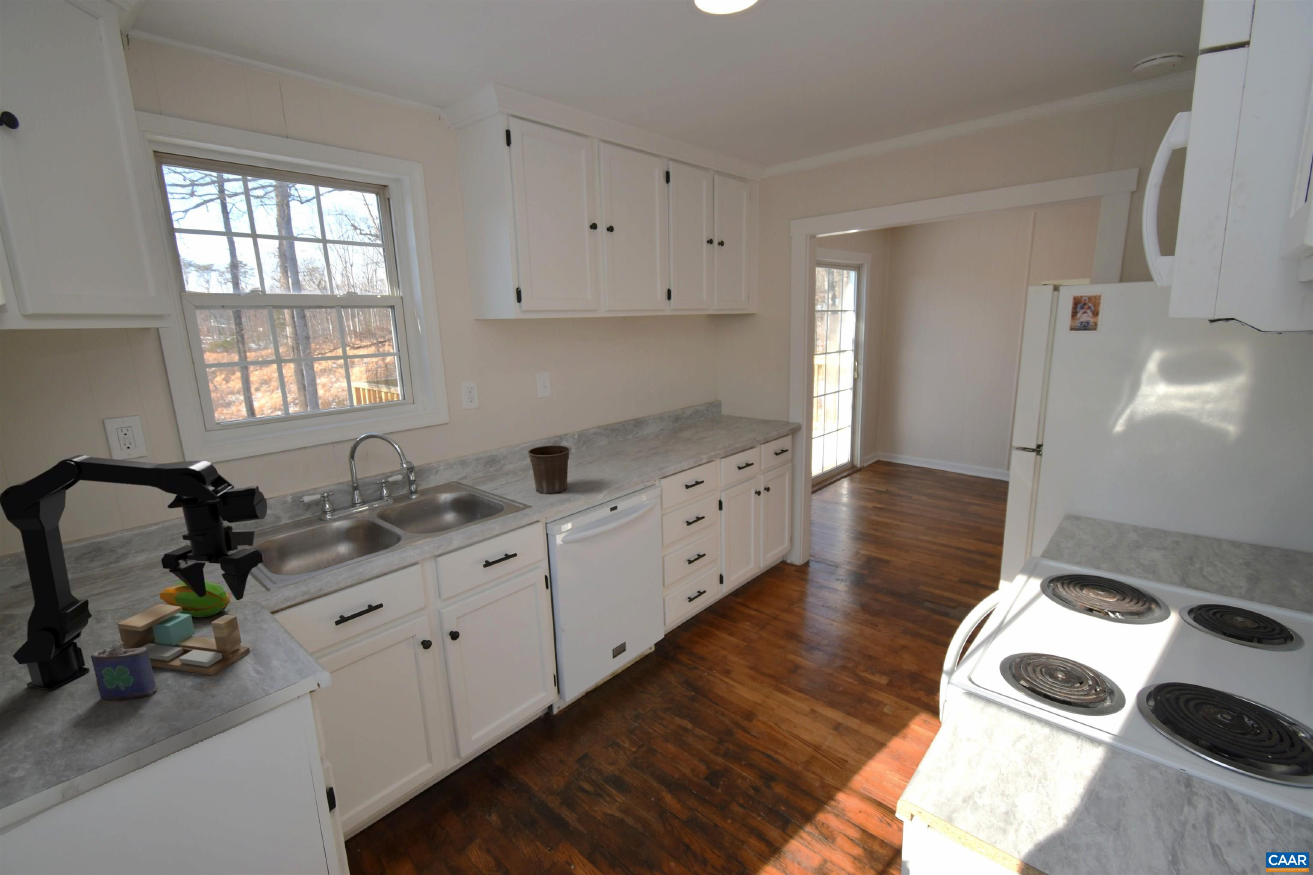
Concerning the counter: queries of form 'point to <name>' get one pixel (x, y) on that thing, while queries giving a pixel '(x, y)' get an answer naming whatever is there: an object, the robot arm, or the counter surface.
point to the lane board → (141, 633)
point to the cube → (174, 629)
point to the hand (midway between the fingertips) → (221, 597)
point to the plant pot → (550, 468)
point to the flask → (123, 673)
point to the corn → (196, 599)
